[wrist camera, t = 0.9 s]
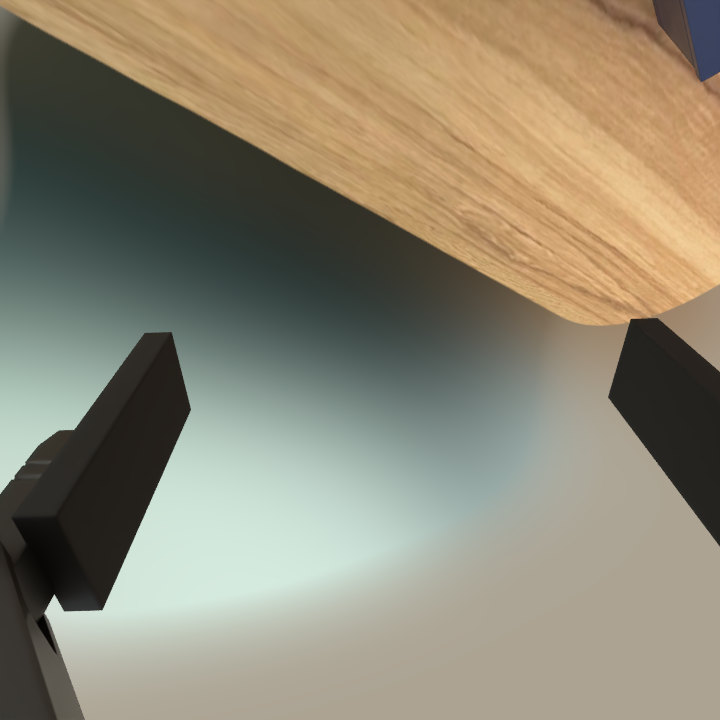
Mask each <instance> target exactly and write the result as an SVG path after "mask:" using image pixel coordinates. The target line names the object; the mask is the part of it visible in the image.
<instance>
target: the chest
mask: <svg viewBox="0 0 720 720" xmlns="http://www.w3.org/2000/svg"><path fill="white" fill-rule="evenodd" d="M653 4H654V8H655V12H656V16H657V19H658V23H659V25H660V26H661V27H662V29H663V30H664V31H665V32H666V33H667V35H668V36H669V37H670V38H671V40H672V41H673V42H674V43H675V45H676V46H677V47H678V48H679V49H680V51H681V52H682V53H683V54H684V56H685V57H686V58H687V59H688V61H689V62H690V63H691V64H692V66H693V67H694V68H695V66H694V62H693V57H692V53H691V48H690V44H689V39H688V35H687V30H686V25H685V21H684V16H683V12H682V7H681V3H680V0H653Z"/></svg>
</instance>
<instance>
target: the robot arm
mask: <svg viewBox="0 0 720 720" xmlns="http://www.w3.org/2000/svg"><path fill="white" fill-rule="evenodd" d="M608 398H609V399H610V400H611V402H612V403H613V404H614V406H615V407H616V408H617V410H618V411H619V412H620V414H621V415H622V416H623V418H624V419H625V420H626V422H627V423H628V424H629V426H630V427H631V428H632V430H633V431H634V432H635V434H636V435H637V436H638V438H639V439H640V440H641V442H642V443H643V444H644V446H645V447H646V448H647V450H648V451H649V452H650V454H651V455H652V456H653V458H654V459H655V460H656V462H657V463H658V464H659V466H660V467H661V468H662V470H663V471H664V472H665V474H666V475H667V476H668V478H669V479H670V480H671V482H672V483H673V484H674V486H675V487H676V488H677V490H678V491H679V492H680V494H681V495H682V496H683V498H684V499H685V501H686V502H687V503H688V505H689V506H690V507H691V508H692V510H693V511H694V513H695V514H696V515H697V516H698V518H699V519H700V520H701V522H702V523H703V525H704V526H705V527H706V529H707V530H708V531H709V532H710V534H711V535H712V536H713V538H714V539H715V540H716V542H717V543H718V545H719V546H720V372H719V371H718V370H717V369H716V368H715V367H714V366H712V365H711V364H710V363H709V362H708V361H706V360H705V359H704V358H703V357H702V356H701V355H700V354H698V353H697V352H696V351H695V350H694V349H693V348H691V347H690V346H689V345H688V344H687V343H686V342H684V341H683V340H682V339H681V338H680V337H679V336H677V335H676V334H675V333H674V332H673V331H672V330H671V329H670V328H668V327H667V326H666V325H665V324H664V323H663V322H661V321H660V320H659V319H658V318H648V319H631V320H630V324H629V327H628V331H627V334H626V338H625V341H624V345H623V348H622V351H621V355H620V358H619V362H618V365H617V369H616V372H615V375H614V379H613V382H612V386H611V389H610V393H609V396H608ZM190 411H191V408H190V404H189V400H188V396H187V392H186V388H185V384H184V380H183V376H182V372H181V368H180V364H179V360H178V356H177V352H176V348H175V344H174V340H173V336H172V333H171V332H165V333H164V332H163V333H145V334H144V335H143V336H142V338H141V339H140V340H139V342H138V343H137V345H136V346H135V347H134V349H133V350H132V351H131V353H130V354H129V355H128V357H127V358H126V360H125V361H124V362H123V364H122V365H121V366H120V368H119V370H118V371H117V372H116V373H115V375H114V376H113V378H112V379H111V380H110V382H109V383H108V385H107V386H106V387H105V389H104V390H103V391H102V393H101V394H100V395H99V397H98V398H97V400H96V401H95V402H94V404H93V405H92V406H91V408H90V409H89V411H88V412H87V413H86V415H85V416H84V418H83V419H82V420H81V422H80V423H79V424H78V426H77V427H76V429H75V430H63V431H58V432H56V433H55V434H54V435H52V436H51V437H49V438H48V439H47V440H46V441H44V442H43V443H41V444H40V445H39V446H38V447H37V448H36V449H35V451H34V452H33V453H32V455H31V456H30V457H29V459H28V460H27V461H26V462H25V463H26V465H25V466H22V467H21V469H20V470H19V471H18V472H17V474H16V475H15V479H14V480H11V481H10V482H9V484H8V485H7V486H6V488H5V489H4V490H3V491H2V493H1V494H0V720H85V719H84V716H83V714H82V711H81V708H80V705H79V703H78V700H77V697H76V694H75V691H74V689H73V686H72V683H71V680H70V678H69V675H68V672H67V669H66V666H65V664H64V661H63V658H62V655H61V653H60V650H59V647H58V644H57V642H56V639H55V636H54V633H53V630H52V628H51V625H50V622H49V620H48V619H47V617H46V615H45V614H44V612H45V610H46V609H47V607H48V604H49V603H50V601H51V599H52V597H53V596H54V594H55V596H56V598H57V599H58V601H59V603H60V605H61V606H62V608H63V610H64V611H91V610H92V611H93V610H103V608H104V605H105V603H106V601H107V599H108V596H109V594H110V592H111V590H112V587H113V585H114V583H115V581H116V578H117V576H118V574H119V571H120V569H121V567H122V565H123V562H124V560H125V558H126V555H127V553H128V551H129V549H130V546H131V544H132V542H133V540H134V537H135V535H136V533H137V530H138V528H139V526H140V523H141V521H142V519H143V517H144V515H145V513H146V510H147V508H148V506H149V504H150V501H151V499H152V497H153V494H154V492H155V490H156V488H157V485H158V483H159V481H160V478H161V476H162V474H163V472H164V470H165V467H166V465H167V463H168V460H169V458H170V456H171V453H172V451H173V449H174V447H175V445H176V442H177V440H178V438H179V436H180V433H181V431H182V429H183V426H184V424H185V422H186V420H187V417H188V415H189V413H190Z"/></svg>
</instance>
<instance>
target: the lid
mask: <svg viewBox="0 0 720 720" xmlns="http://www.w3.org/2000/svg"><path fill="white" fill-rule="evenodd" d="M680 3H681V7H682V12H683V16H684V21H685V25H686V30H687V35H688V39H689V44H690V48H691V53H692V57H693V62H694V66H695V71H696V75H697V77H698V79H699V80H700V81H701V82H703V81H704V80H706V79H708V78H710V77H712V76H713V75H715V74H717V73H719V72H720V0H680Z"/></svg>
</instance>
